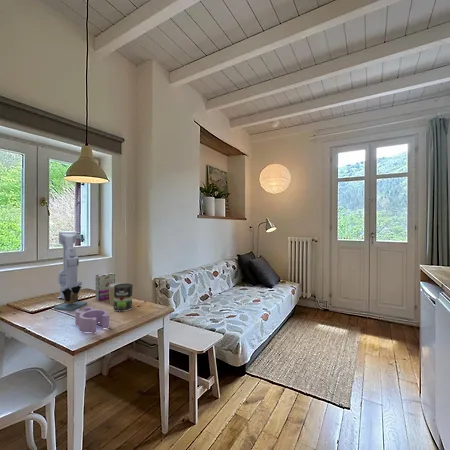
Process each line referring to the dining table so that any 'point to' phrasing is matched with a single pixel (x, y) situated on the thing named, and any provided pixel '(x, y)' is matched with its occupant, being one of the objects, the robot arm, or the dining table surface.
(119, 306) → the coffee can
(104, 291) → the candy bar box
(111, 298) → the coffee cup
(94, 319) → the clip
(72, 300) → the walnut cube
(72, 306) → the slate board
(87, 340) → the dining table surface
